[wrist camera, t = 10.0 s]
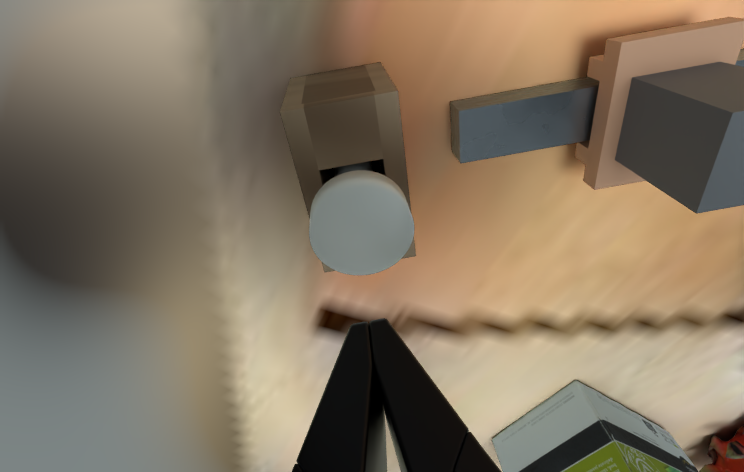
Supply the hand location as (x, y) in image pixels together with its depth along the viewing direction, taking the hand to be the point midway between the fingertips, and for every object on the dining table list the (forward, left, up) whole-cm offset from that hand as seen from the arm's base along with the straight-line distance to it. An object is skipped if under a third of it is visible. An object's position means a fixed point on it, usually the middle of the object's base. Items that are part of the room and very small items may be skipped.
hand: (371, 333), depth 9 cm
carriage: (0, -14, -12) cm, 18 cm away
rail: (0, -14, -12) cm, 18 cm away
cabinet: (0, 0, -12) cm, 12 cm away
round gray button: (0, 0, -11) cm, 11 cm away
